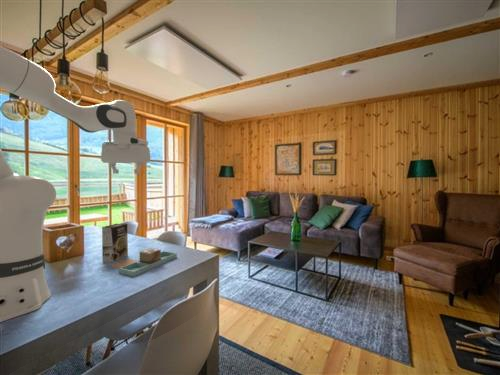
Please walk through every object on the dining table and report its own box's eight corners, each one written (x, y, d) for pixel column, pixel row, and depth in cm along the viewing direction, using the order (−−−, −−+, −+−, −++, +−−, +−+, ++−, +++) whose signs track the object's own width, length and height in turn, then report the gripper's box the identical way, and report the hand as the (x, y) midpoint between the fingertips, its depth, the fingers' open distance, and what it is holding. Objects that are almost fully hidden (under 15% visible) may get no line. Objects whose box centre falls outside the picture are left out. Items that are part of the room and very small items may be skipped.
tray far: (164, 263, 105) (164, 258, 105) (150, 261, 108) (150, 256, 108) (176, 258, 112) (176, 253, 112) (163, 255, 116) (163, 251, 115)
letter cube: (150, 267, 99) (149, 253, 99) (139, 265, 101) (139, 251, 101) (160, 263, 104) (160, 249, 104) (150, 261, 107) (150, 247, 107)
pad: (125, 270, 97) (125, 268, 97) (111, 267, 101) (111, 265, 101) (143, 263, 105) (143, 261, 105) (129, 260, 109) (129, 258, 109)
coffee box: (114, 263, 106) (113, 227, 105) (101, 262, 107) (101, 226, 106) (128, 256, 114) (128, 223, 114) (117, 255, 116) (116, 222, 115)
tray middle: (149, 270, 98) (149, 264, 98) (136, 267, 101) (136, 261, 101) (164, 263, 105) (164, 258, 105) (150, 261, 108) (150, 256, 108)
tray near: (133, 277, 90) (133, 271, 90) (119, 274, 94) (118, 268, 94) (149, 270, 98) (149, 264, 98) (136, 267, 101) (136, 261, 101)
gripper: (96, 140, 98) (98, 173, 99) (144, 139, 96) (145, 173, 97) (107, 142, 104) (108, 173, 105) (151, 141, 102) (152, 173, 103)
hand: (126, 173), depth 101 cm, fingers open, 8 cm apart
